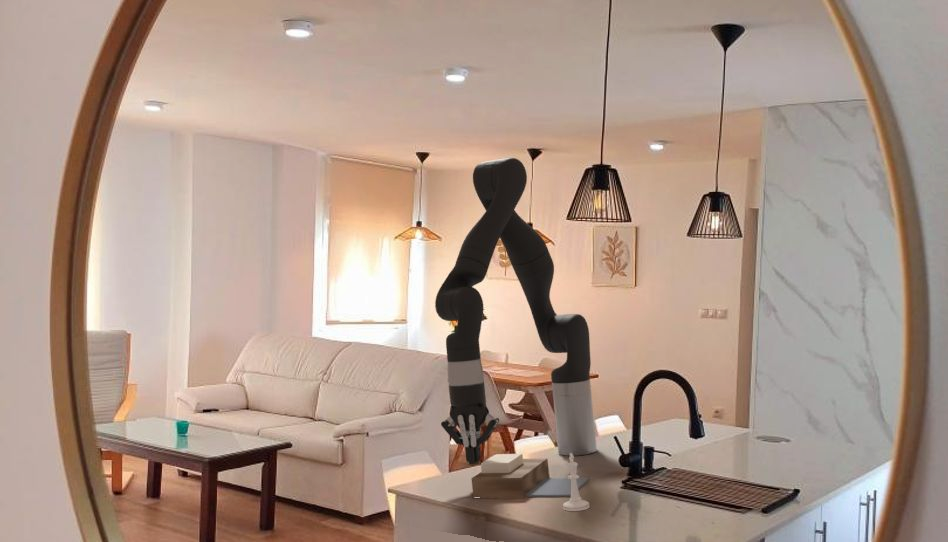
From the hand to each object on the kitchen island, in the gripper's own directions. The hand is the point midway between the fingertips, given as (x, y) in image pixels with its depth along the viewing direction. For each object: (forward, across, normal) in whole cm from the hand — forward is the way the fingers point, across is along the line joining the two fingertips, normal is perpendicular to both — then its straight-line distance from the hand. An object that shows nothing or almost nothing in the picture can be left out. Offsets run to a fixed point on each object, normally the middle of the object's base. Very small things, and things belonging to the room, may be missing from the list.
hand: (473, 463), depth 189 cm
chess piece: (+5, -26, +16) cm, 31 cm away
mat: (+5, -18, +1) cm, 19 cm away
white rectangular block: (+1, -6, 0) cm, 6 cm away
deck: (+5, -8, 0) cm, 10 cm away
